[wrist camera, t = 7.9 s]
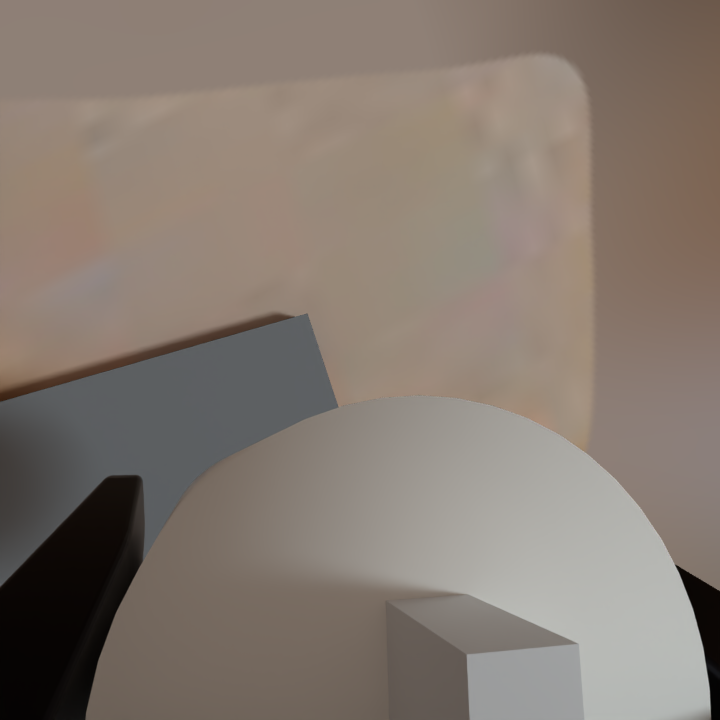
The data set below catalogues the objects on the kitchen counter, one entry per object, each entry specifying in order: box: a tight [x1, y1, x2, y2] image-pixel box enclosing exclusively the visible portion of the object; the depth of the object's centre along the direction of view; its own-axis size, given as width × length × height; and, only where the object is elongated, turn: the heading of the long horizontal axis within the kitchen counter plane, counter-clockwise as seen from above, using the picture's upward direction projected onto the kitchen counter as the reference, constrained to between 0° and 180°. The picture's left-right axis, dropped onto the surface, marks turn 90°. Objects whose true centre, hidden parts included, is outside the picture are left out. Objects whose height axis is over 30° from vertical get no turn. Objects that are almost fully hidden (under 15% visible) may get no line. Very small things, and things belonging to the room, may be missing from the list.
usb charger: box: [85, 395, 711, 720], centre depth 9 cm, size 4×4×11 cm
